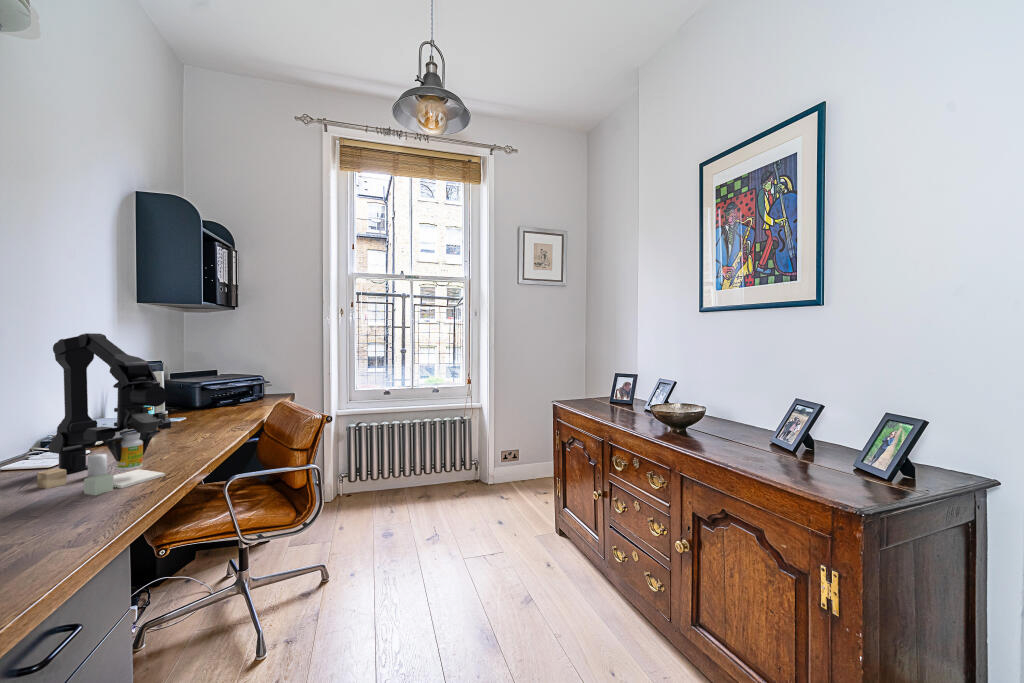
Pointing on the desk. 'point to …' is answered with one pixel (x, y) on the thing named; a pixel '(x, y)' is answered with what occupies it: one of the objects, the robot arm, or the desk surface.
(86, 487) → the sage block
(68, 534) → the desk surface
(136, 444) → the supplement bottle
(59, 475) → the beech block
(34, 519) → the desk surface
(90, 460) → the grey capsule
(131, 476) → the ceramic tile
